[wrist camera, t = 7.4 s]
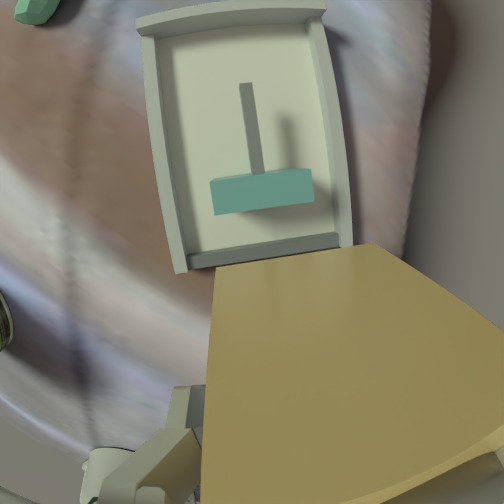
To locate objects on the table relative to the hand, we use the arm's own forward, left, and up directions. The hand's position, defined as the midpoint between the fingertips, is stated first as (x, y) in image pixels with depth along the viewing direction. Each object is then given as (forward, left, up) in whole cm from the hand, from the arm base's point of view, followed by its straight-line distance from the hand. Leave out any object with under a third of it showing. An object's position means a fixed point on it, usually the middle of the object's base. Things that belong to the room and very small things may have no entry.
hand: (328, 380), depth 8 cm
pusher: (+7, 0, -16) cm, 18 cm away
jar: (0, 0, -3) cm, 3 cm away
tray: (+9, 0, -17) cm, 19 cm away
